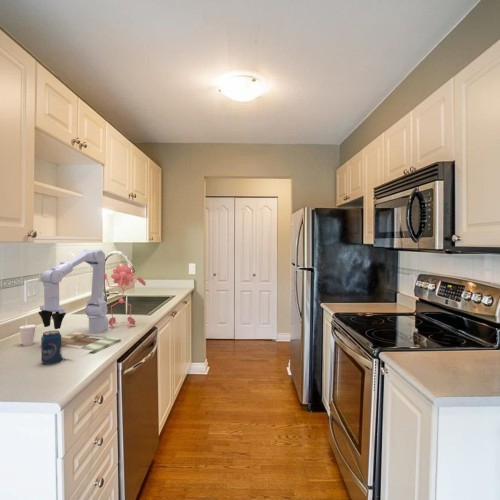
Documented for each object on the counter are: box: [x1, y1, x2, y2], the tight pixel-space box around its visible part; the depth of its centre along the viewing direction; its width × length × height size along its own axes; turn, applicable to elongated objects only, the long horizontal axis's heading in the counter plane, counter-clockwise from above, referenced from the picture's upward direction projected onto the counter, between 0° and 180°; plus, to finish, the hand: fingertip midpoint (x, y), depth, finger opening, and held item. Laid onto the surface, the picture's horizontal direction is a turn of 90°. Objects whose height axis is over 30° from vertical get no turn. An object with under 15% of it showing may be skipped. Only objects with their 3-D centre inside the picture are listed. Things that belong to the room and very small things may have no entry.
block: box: [61, 331, 85, 343], centre depth 159 cm, size 9×5×2 cm, turn 164°
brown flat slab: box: [61, 334, 122, 355], centre depth 157 cm, size 18×24×2 cm
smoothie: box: [19, 316, 37, 347], centre depth 152 cm, size 6×6×14 cm
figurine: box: [104, 264, 146, 330], centre depth 192 cm, size 15×26×35 cm, turn 98°
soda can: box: [40, 330, 63, 366], centre depth 134 cm, size 7×7×12 cm
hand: (52, 327), depth 149 cm, fingers open, 7 cm apart
